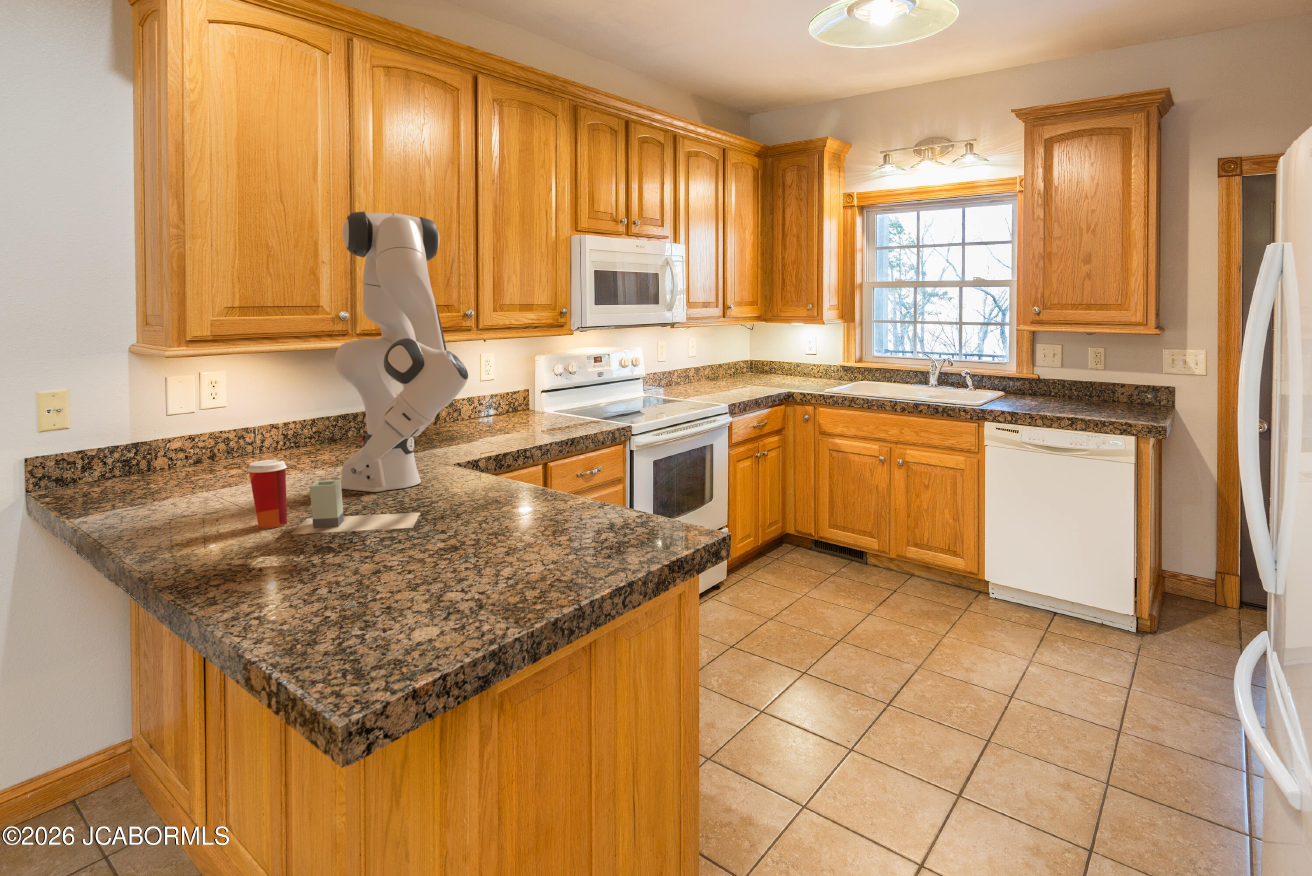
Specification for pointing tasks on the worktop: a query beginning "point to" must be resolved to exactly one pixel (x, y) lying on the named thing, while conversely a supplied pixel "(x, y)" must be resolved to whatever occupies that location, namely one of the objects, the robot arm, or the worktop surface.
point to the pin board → (363, 523)
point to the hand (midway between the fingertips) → (361, 463)
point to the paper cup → (269, 492)
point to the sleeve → (326, 504)
